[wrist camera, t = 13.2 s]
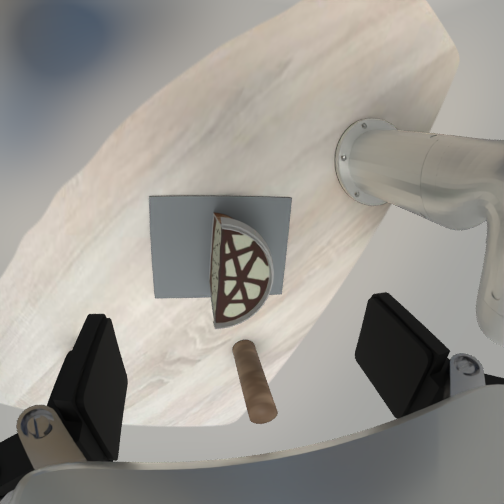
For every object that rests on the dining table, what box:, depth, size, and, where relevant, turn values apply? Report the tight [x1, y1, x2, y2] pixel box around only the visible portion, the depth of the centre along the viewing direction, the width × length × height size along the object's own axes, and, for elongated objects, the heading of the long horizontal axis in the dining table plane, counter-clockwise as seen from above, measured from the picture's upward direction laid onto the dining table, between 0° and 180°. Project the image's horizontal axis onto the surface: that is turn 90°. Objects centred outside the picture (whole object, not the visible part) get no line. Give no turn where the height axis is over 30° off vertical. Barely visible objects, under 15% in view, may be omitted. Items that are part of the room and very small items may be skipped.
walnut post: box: [233, 340, 278, 424], centre depth 40 cm, size 4×4×14 cm
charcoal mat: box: [149, 196, 292, 298], centre depth 40 cm, size 18×14×1 cm
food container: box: [209, 212, 274, 329], centre depth 35 cm, size 12×6×10 cm, turn 174°
